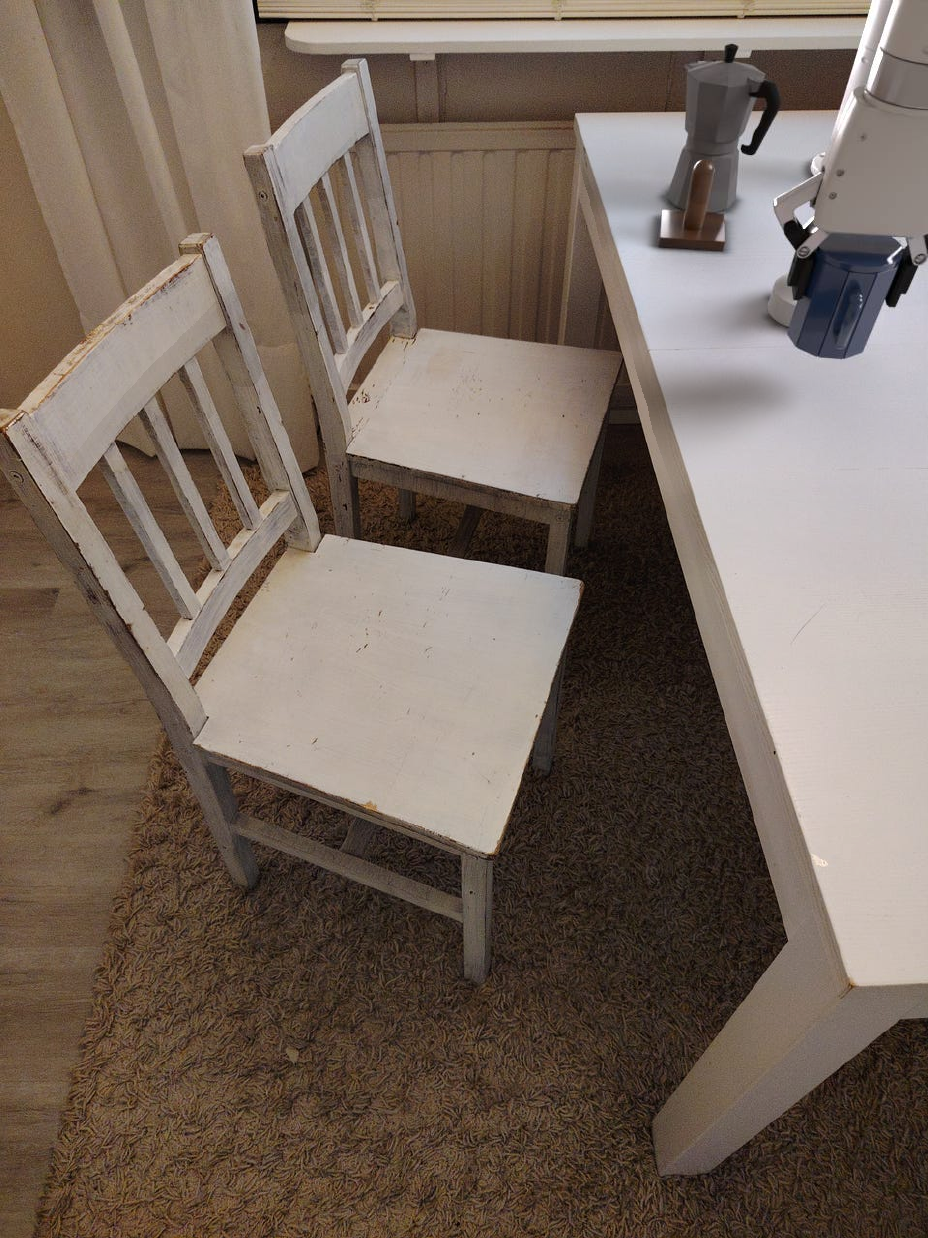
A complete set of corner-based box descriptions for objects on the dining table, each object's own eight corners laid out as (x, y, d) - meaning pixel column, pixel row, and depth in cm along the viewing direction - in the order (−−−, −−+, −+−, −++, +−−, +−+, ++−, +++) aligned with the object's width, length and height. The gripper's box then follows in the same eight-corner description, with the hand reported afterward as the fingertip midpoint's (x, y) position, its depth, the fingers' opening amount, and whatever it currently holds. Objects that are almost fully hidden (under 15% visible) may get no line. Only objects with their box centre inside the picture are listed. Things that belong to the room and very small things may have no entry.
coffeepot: (642, 192, 111) (665, 38, 98) (689, 174, 115) (718, 23, 101) (725, 232, 103) (763, 70, 89) (773, 211, 107) (817, 53, 93)
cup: (784, 314, 80) (813, 223, 73) (862, 320, 79) (899, 228, 72) (790, 366, 74) (821, 274, 67) (874, 373, 73) (915, 280, 66)
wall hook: (788, 245, 81) (795, 204, 87) (762, 331, 88) (771, 287, 94) (877, 257, 79) (878, 214, 85) (843, 343, 86) (847, 298, 92)
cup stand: (660, 218, 106) (673, 145, 99) (722, 222, 105) (738, 148, 98) (658, 246, 101) (671, 171, 94) (723, 250, 100) (740, 175, 93)
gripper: (1034, 63, 61) (934, 282, 75) (799, 56, 63) (744, 269, 77) (1060, 100, 56) (948, 325, 70) (806, 91, 59) (746, 310, 73)
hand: (842, 295), depth 74 cm, fingers closed on cup, 7 cm apart
